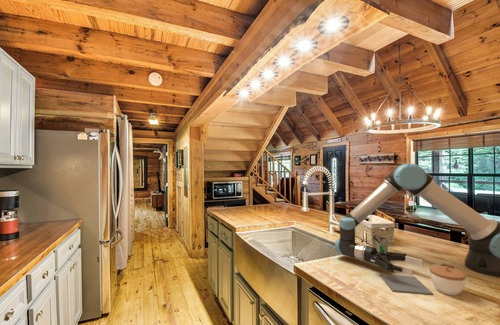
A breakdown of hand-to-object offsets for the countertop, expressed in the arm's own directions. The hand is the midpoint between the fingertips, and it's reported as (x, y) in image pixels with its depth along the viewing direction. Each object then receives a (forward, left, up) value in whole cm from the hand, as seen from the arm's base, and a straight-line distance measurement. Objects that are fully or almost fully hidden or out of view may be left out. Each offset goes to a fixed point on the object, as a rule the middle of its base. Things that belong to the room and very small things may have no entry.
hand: (417, 267), depth 99 cm
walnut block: (-16, -10, -6) cm, 20 cm away
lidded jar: (-7, +6, -6) cm, 11 cm away
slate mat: (+7, +3, -6) cm, 9 cm away
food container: (+5, -27, -6) cm, 28 cm away
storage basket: (0, -57, -6) cm, 57 cm away
